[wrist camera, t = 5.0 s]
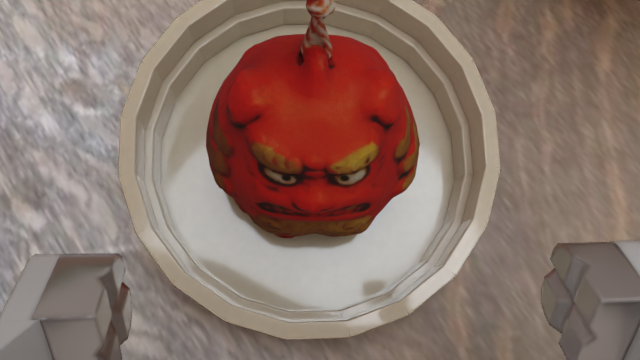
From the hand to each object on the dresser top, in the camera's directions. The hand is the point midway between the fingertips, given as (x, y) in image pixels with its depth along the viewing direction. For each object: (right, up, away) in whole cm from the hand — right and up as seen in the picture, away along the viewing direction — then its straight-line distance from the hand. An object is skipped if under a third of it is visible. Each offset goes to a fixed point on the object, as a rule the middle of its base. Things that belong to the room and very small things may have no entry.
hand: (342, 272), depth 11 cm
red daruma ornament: (-1, +2, +14) cm, 14 cm away
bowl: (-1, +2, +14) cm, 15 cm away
